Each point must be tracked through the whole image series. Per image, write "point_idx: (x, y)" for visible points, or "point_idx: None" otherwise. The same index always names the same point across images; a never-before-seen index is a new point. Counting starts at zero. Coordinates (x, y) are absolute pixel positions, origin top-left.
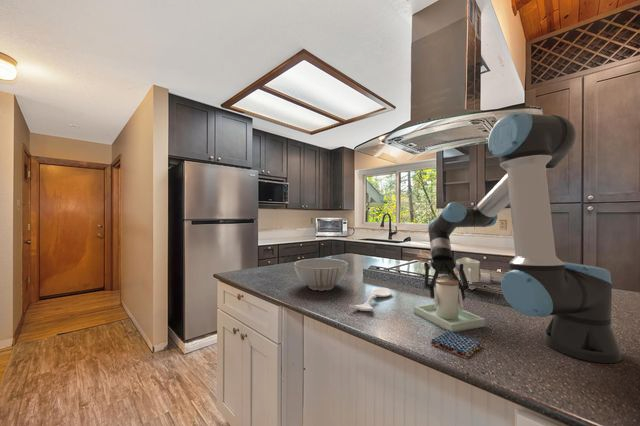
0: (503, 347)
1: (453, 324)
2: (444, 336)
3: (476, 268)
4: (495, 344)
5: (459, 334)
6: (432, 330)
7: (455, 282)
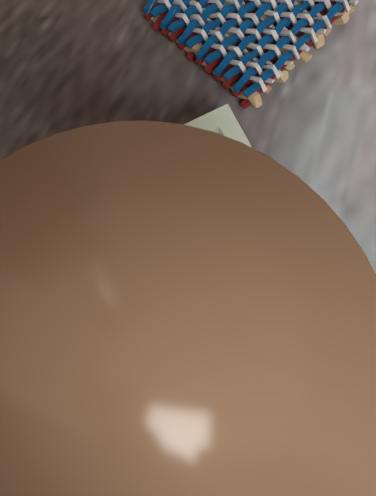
0: (61, 21)
1: (214, 110)
2: (289, 31)
3: None
4: (79, 41)
5: (211, 53)
6: (312, 148)
7: (2, 197)
